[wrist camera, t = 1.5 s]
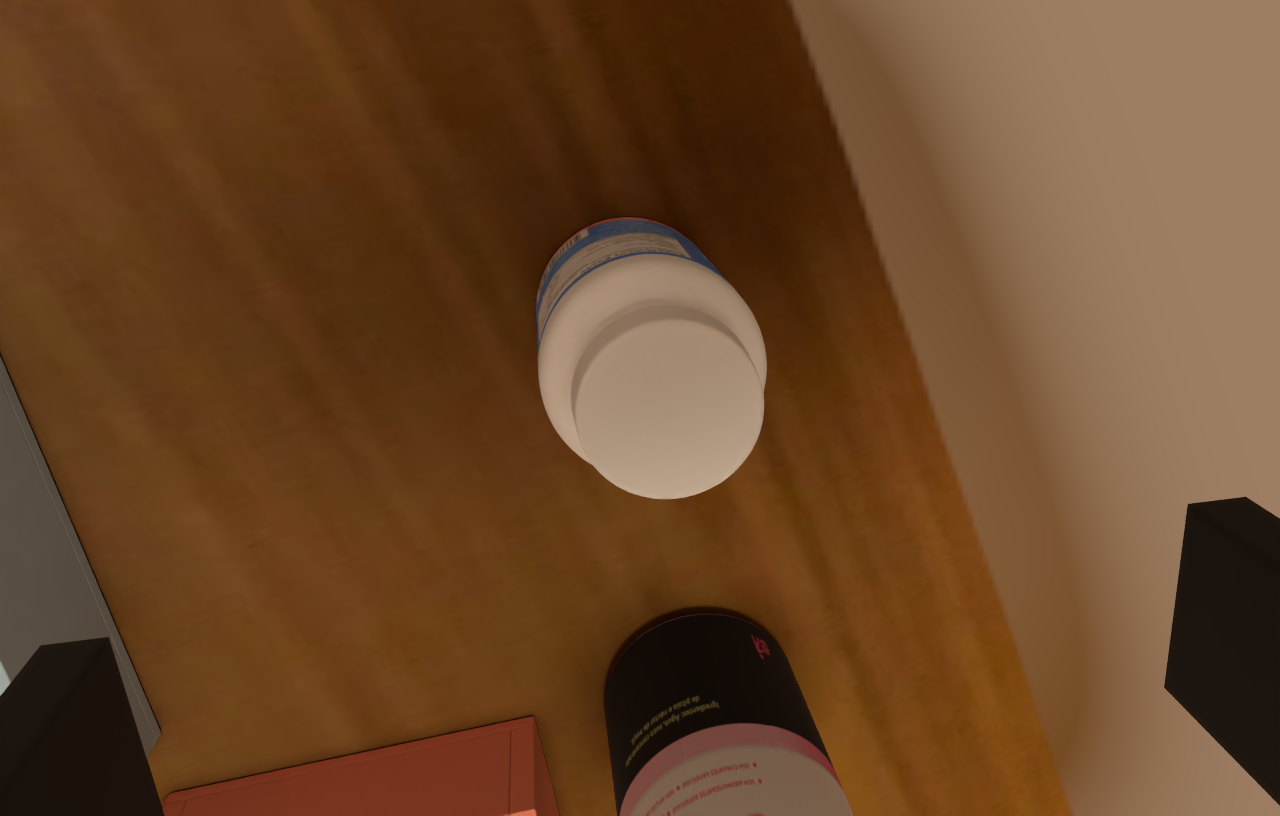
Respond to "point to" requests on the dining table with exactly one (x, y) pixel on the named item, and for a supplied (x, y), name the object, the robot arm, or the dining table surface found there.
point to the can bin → (397, 781)
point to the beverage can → (714, 726)
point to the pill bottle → (648, 359)
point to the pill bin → (47, 566)
